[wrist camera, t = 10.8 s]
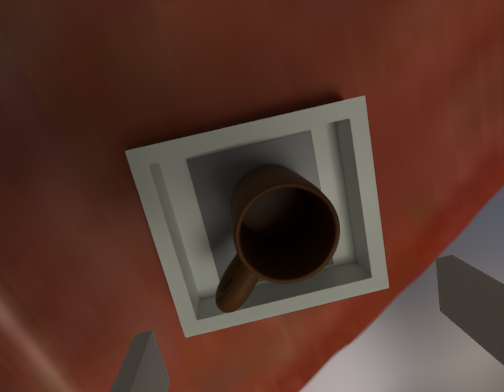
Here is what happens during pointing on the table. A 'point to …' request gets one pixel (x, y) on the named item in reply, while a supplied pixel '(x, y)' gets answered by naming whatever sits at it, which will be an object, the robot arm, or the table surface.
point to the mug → (276, 233)
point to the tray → (219, 209)
